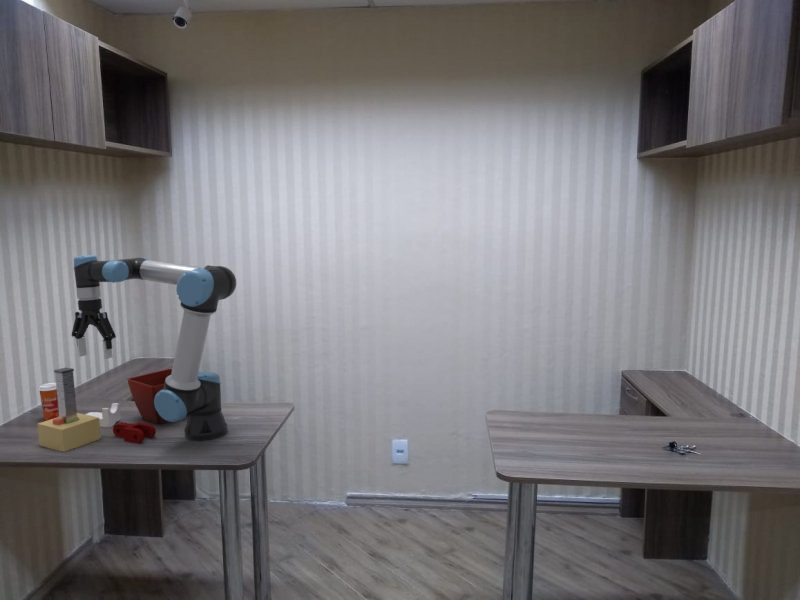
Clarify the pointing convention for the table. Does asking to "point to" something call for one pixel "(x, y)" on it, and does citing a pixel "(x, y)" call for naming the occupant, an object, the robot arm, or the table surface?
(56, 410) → the paper cup
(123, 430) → the mechanical linkage
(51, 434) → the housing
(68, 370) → the column
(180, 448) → the table surface
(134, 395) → the plant pot
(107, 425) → the bracket
